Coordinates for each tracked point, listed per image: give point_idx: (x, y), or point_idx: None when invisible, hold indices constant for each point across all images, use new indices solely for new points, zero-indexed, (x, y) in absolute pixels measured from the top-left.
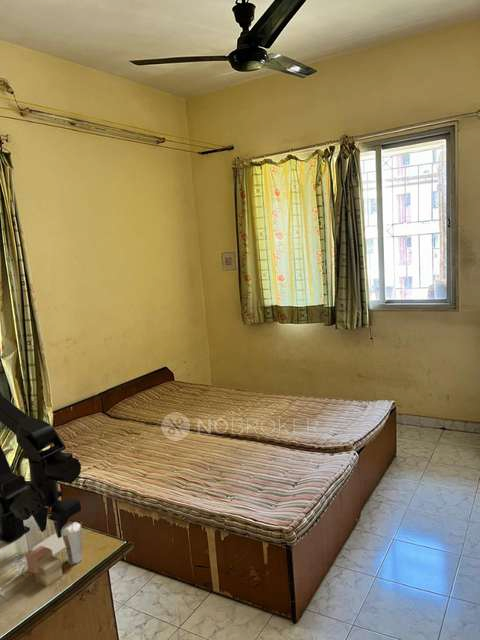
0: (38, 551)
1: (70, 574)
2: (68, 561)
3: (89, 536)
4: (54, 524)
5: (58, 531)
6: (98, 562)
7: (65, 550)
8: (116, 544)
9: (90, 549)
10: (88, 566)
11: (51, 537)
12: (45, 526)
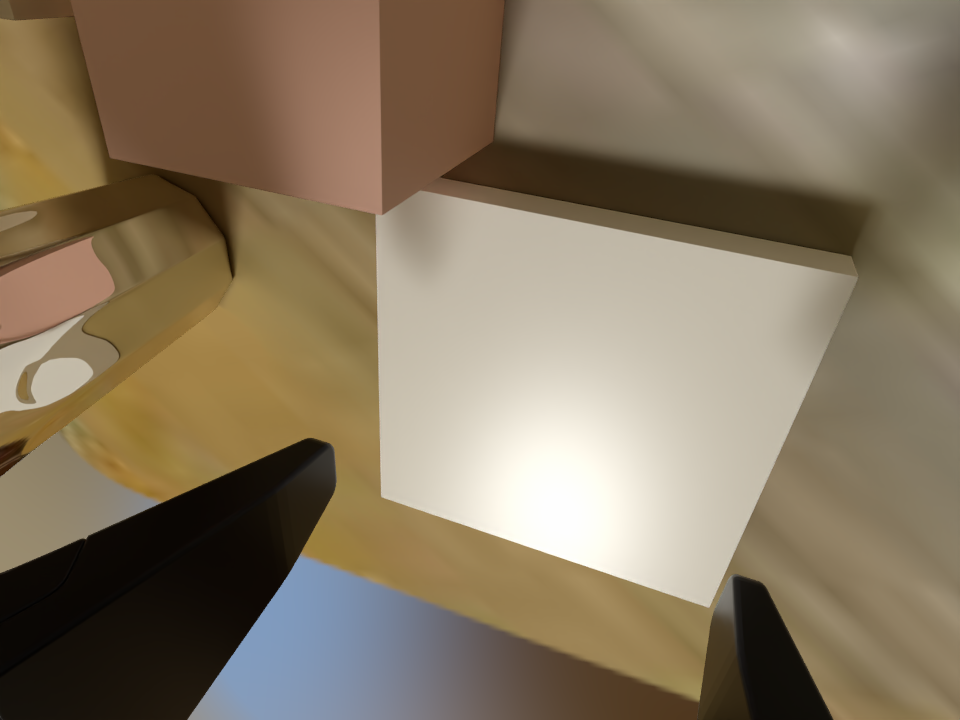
0: (245, 21)
1: (4, 28)
2: (151, 186)
3: (362, 554)
4: (52, 620)
5: (177, 504)
6: None
7: (53, 236)
8: (109, 471)
9: (203, 404)
10: (8, 196)
11: (697, 532)
12: (706, 676)
